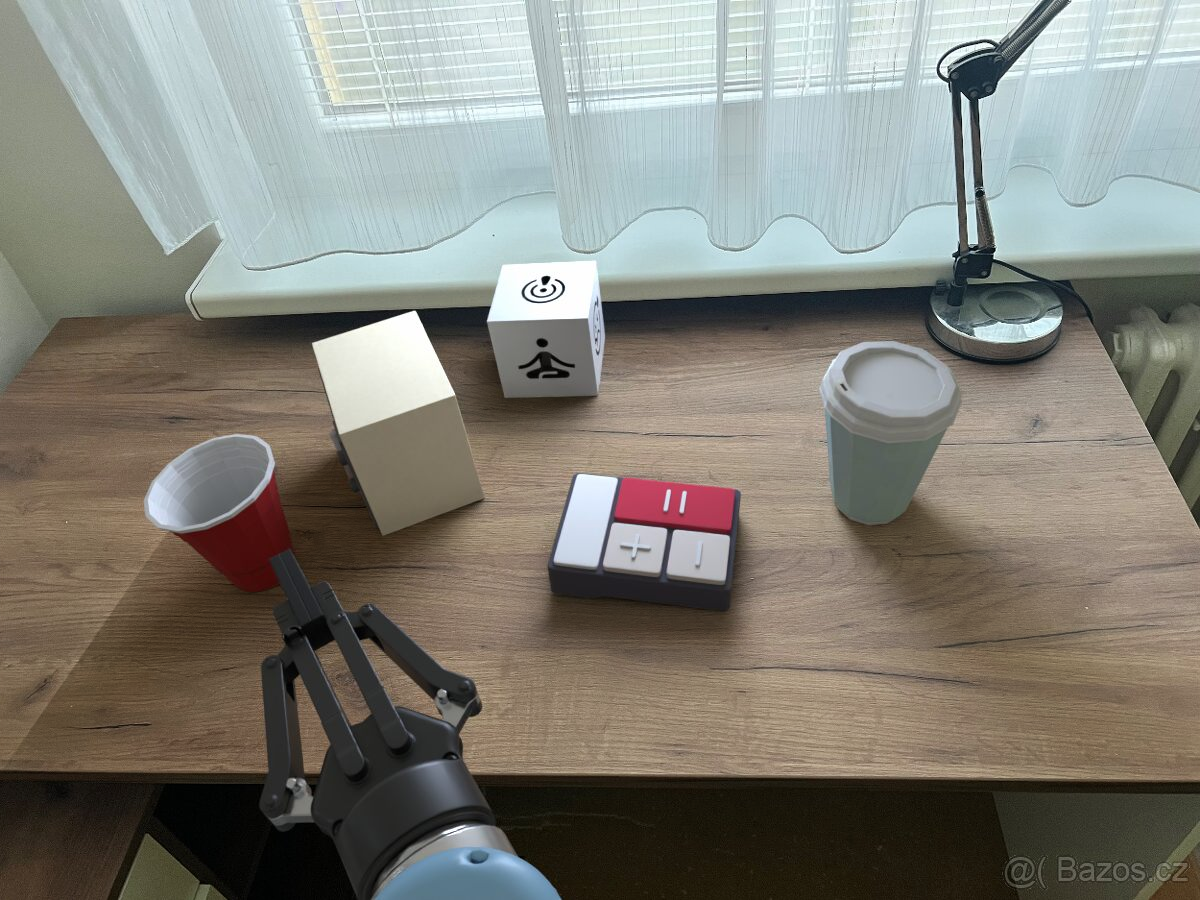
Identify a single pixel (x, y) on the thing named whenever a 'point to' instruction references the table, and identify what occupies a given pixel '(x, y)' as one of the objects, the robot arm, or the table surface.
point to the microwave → (397, 423)
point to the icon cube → (548, 329)
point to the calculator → (646, 541)
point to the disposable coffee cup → (884, 425)
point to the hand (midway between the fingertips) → (286, 566)
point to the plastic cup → (225, 507)
